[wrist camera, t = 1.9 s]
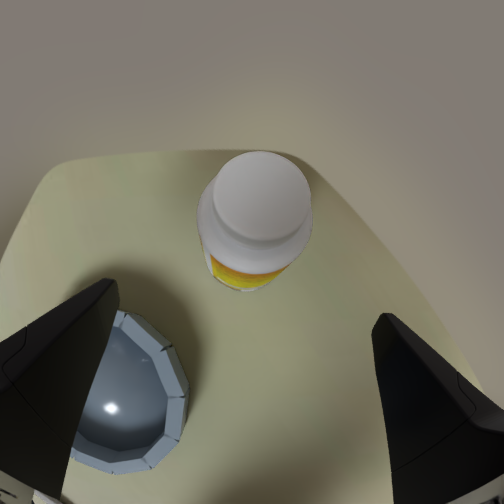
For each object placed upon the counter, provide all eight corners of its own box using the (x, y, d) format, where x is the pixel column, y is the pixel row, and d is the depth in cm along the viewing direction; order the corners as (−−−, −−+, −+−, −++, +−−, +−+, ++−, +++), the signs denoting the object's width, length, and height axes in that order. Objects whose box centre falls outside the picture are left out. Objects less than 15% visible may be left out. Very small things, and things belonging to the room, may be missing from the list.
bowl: (214, 438, 17) (213, 454, 14) (83, 463, 15) (68, 477, 12) (152, 286, 20) (141, 280, 17) (30, 330, 17) (8, 329, 15)
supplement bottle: (294, 271, 21) (354, 226, 11) (225, 305, 20) (228, 288, 10) (260, 206, 22) (289, 121, 12) (193, 235, 21) (171, 162, 11)
